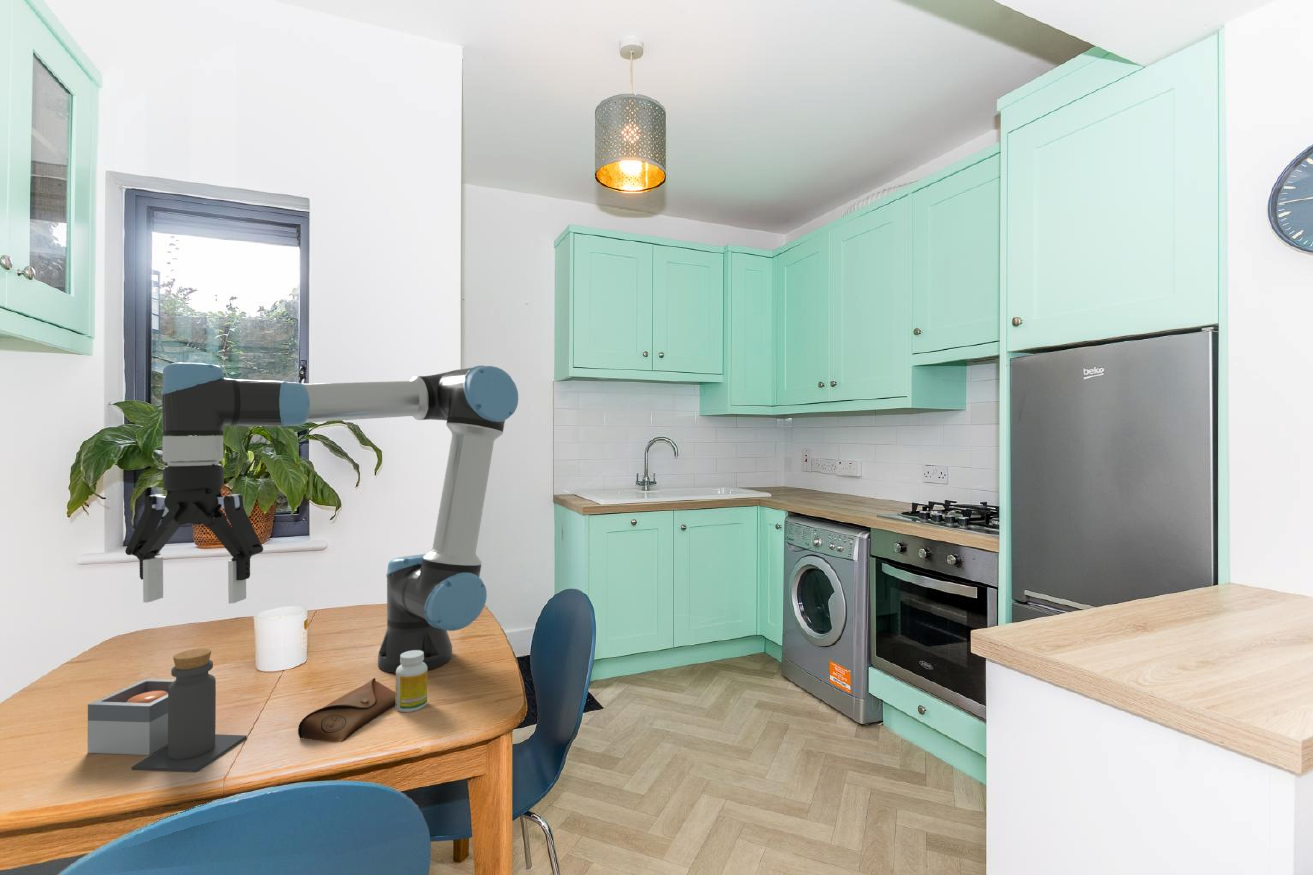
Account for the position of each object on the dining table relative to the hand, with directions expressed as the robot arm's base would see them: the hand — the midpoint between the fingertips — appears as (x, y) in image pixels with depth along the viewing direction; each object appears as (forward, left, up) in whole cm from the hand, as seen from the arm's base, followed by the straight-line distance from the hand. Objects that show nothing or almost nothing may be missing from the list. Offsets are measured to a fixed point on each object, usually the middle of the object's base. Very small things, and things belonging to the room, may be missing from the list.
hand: (195, 600), depth 94 cm
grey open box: (+11, -4, -24) cm, 26 cm away
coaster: (0, 0, -24) cm, 24 cm away
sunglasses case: (-18, -13, -24) cm, 33 cm away
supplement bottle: (-26, -18, -24) cm, 40 cm away
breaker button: (+11, -4, -23) cm, 26 cm away
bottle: (0, 0, -23) cm, 23 cm away
